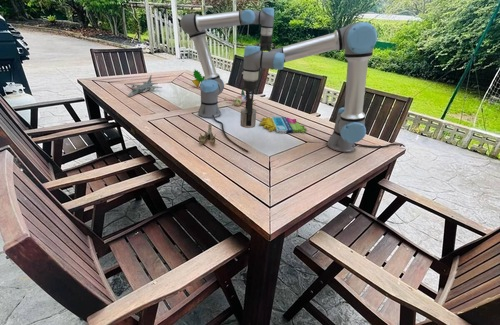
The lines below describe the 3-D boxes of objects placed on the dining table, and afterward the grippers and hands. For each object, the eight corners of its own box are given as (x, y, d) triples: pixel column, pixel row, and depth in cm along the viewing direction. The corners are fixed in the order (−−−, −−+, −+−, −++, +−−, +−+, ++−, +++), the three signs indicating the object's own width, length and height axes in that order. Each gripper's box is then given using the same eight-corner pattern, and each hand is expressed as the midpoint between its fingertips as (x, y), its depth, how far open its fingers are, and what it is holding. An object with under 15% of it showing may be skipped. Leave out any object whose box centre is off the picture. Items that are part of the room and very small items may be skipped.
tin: (247, 121, 147) (248, 106, 142) (258, 125, 142) (259, 110, 138) (237, 124, 141) (237, 109, 137) (247, 129, 137) (248, 113, 132)
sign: (308, 131, 166) (261, 129, 163) (307, 133, 167) (261, 132, 164) (299, 117, 188) (257, 116, 186) (298, 119, 189) (257, 118, 186)
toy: (261, 91, 228) (254, 99, 202) (261, 99, 231) (253, 108, 205) (231, 87, 233) (220, 95, 207) (230, 95, 236) (219, 104, 210)
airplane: (122, 86, 237) (119, 75, 232) (157, 84, 250) (156, 74, 245) (126, 99, 209) (123, 86, 204) (166, 96, 222) (165, 84, 217)
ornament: (209, 91, 261) (213, 76, 259) (211, 91, 253) (215, 75, 251) (188, 84, 252) (192, 69, 250) (190, 84, 245) (194, 68, 243)
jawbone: (218, 127, 153) (216, 117, 144) (216, 150, 146) (215, 141, 137) (202, 127, 153) (199, 117, 144) (200, 150, 146) (197, 140, 137)
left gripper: (252, 35, 161) (250, 71, 171) (285, 36, 172) (281, 70, 182) (246, 34, 166) (245, 69, 176) (278, 35, 177) (275, 68, 188)
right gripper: (241, 75, 139) (240, 116, 150) (244, 84, 120) (241, 130, 131) (255, 75, 139) (253, 116, 150) (260, 84, 121) (256, 130, 132)
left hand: (263, 69), depth 179 cm, fingers open, 13 cm apart
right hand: (247, 122), depth 141 cm, fingers closed on tin, 8 cm apart
